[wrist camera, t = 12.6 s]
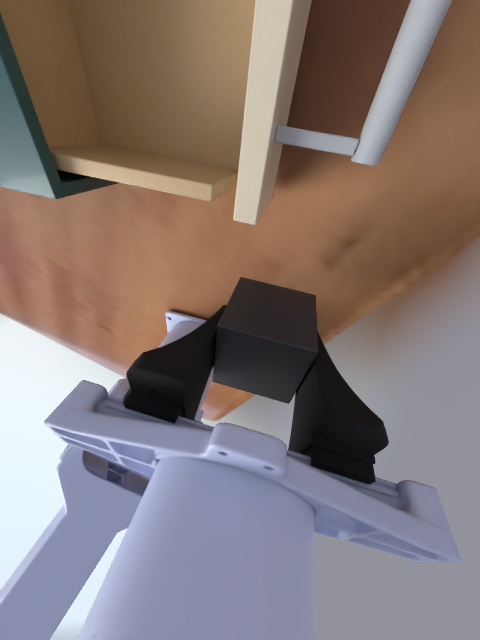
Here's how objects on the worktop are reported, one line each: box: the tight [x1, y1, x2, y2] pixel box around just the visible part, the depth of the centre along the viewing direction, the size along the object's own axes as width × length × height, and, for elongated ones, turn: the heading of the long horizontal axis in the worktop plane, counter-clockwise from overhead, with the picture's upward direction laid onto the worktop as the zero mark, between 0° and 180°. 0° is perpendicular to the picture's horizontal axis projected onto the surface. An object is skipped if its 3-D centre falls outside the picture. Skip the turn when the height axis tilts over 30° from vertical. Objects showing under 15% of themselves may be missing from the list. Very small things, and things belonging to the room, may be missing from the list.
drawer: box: [0, 0, 452, 225], centre depth 10 cm, size 18×13×7 cm
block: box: [212, 277, 318, 403], centre depth 14 cm, size 5×5×5 cm
